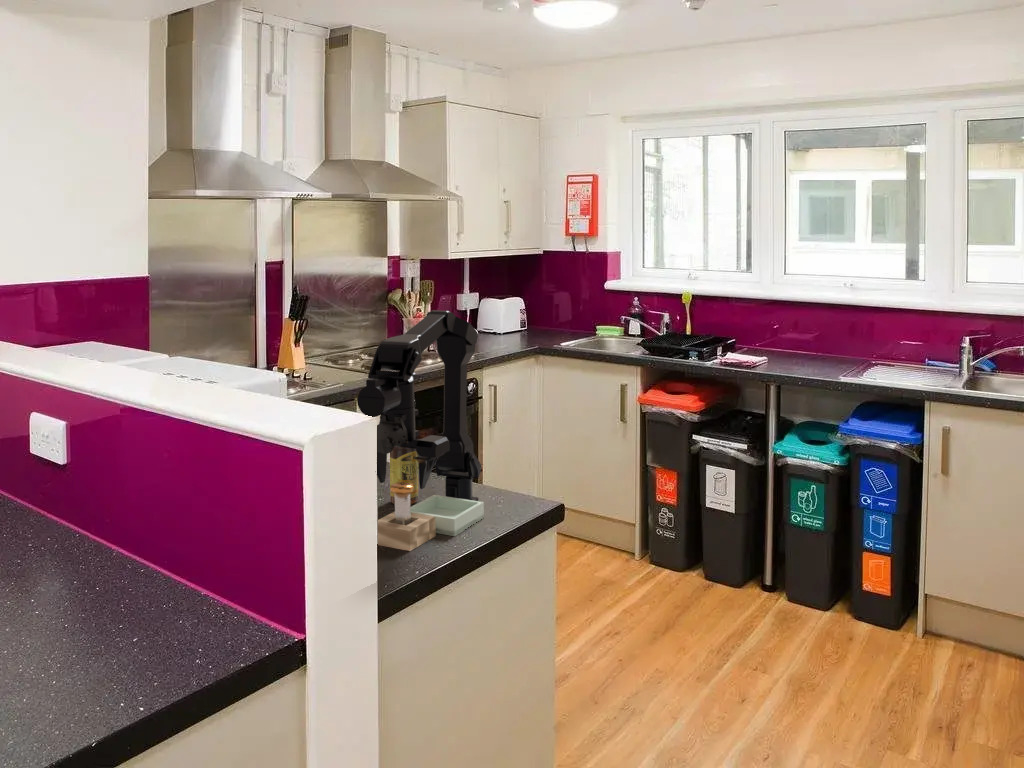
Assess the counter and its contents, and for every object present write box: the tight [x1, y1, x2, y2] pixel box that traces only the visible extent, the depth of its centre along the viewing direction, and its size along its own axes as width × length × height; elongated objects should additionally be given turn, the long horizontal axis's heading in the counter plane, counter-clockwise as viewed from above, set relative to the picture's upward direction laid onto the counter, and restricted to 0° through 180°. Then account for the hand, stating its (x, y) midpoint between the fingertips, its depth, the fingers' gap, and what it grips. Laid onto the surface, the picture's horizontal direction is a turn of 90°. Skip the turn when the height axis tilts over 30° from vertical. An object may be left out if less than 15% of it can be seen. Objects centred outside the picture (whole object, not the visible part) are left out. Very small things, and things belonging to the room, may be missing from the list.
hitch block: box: [377, 511, 437, 552], centre depth 173 cm, size 9×9×4 cm
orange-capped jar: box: [391, 482, 414, 525], centre depth 172 cm, size 4×4×11 cm
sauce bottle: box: [389, 442, 419, 506], centre depth 195 cm, size 6×6×20 cm
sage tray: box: [411, 494, 485, 537], centre depth 182 cm, size 12×12×4 cm
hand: (402, 485), depth 171 cm, fingers open, 9 cm apart
